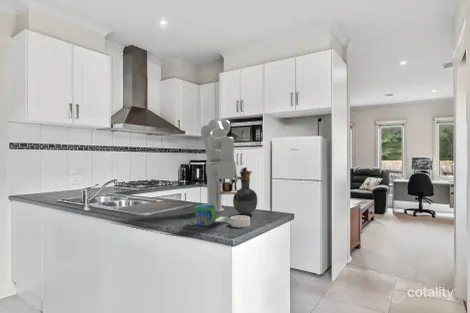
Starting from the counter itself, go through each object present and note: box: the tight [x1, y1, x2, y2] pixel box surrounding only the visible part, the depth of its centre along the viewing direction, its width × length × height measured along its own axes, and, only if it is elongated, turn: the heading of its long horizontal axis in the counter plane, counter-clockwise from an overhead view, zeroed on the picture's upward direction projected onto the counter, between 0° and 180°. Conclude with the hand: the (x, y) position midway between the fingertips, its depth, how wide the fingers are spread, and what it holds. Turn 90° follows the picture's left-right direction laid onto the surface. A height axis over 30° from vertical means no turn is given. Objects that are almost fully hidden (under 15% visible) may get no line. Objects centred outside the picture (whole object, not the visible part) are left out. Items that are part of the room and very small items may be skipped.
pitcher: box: [232, 167, 258, 217], centre depth 178 cm, size 11×19×30 cm, turn 145°
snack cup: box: [194, 204, 217, 227], centre depth 156 cm, size 16×10×10 cm
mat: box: [214, 216, 231, 224], centre depth 167 cm, size 12×12×1 cm
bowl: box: [229, 214, 251, 228], centre depth 155 cm, size 10×10×4 cm
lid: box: [218, 181, 237, 196], centre depth 166 cm, size 11×11×6 cm
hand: (227, 190), depth 166 cm, fingers closed on lid, 3 cm apart
